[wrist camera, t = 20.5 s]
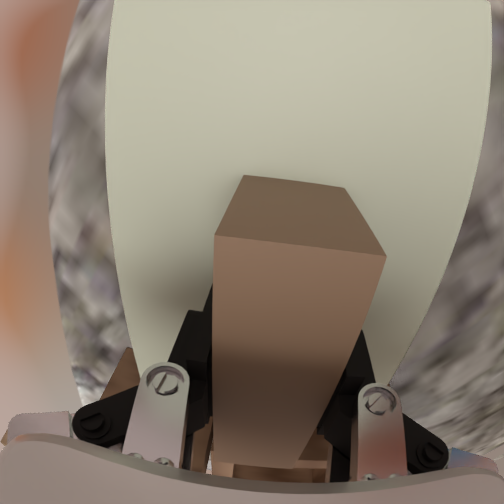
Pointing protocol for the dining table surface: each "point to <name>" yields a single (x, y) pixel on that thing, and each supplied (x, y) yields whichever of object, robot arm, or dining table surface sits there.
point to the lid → (289, 189)
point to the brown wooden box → (304, 470)
